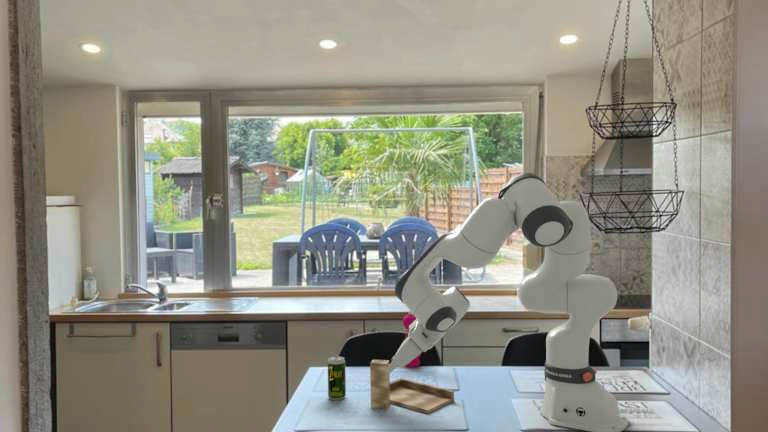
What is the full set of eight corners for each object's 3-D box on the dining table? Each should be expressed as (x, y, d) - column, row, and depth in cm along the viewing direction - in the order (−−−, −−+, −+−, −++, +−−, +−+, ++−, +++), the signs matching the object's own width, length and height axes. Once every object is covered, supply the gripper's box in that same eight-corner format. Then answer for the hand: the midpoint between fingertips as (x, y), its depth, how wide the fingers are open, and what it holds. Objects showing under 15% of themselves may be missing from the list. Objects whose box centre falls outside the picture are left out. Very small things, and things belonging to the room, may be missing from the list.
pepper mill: (421, 362, 209) (420, 308, 208) (420, 367, 201) (420, 312, 201) (402, 361, 209) (401, 308, 209) (400, 367, 202) (400, 312, 202)
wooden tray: (454, 401, 167) (453, 391, 167) (427, 413, 157) (427, 403, 157) (401, 387, 180) (401, 378, 180) (373, 398, 170) (373, 388, 170)
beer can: (329, 394, 174) (328, 356, 173) (346, 394, 174) (345, 356, 173) (327, 400, 168) (326, 361, 168) (345, 400, 168) (344, 360, 168)
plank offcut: (389, 404, 165) (389, 360, 165) (387, 408, 161) (387, 363, 161) (373, 403, 166) (372, 359, 165) (370, 407, 162) (370, 363, 162)
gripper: (420, 318, 171) (388, 349, 172) (411, 332, 151) (376, 367, 152) (434, 333, 170) (403, 364, 172) (428, 350, 150) (392, 384, 152)
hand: (390, 366), depth 162 cm, fingers open, 8 cm apart
